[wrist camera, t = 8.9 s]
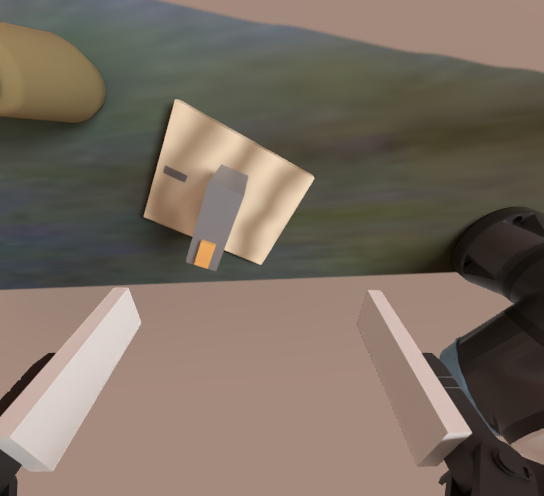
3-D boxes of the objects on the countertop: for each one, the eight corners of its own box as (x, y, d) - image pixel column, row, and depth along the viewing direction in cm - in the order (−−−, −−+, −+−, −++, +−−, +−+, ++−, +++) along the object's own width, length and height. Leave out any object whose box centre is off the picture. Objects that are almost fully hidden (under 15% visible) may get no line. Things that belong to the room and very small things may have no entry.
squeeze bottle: (34, 87, 28) (-249, 59, 12) (55, 19, 25) (-284, -129, 9) (102, 135, 31) (-59, 161, 15) (128, 80, 28) (-40, 43, 12)
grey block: (221, 164, 29) (207, 182, 21) (248, 175, 29) (243, 197, 22) (201, 230, 33) (184, 264, 26) (225, 238, 34) (215, 273, 27)
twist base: (312, 174, 34) (318, 182, 31) (261, 258, 42) (261, 273, 38) (180, 99, 29) (167, 98, 25) (149, 211, 36) (135, 223, 33)
